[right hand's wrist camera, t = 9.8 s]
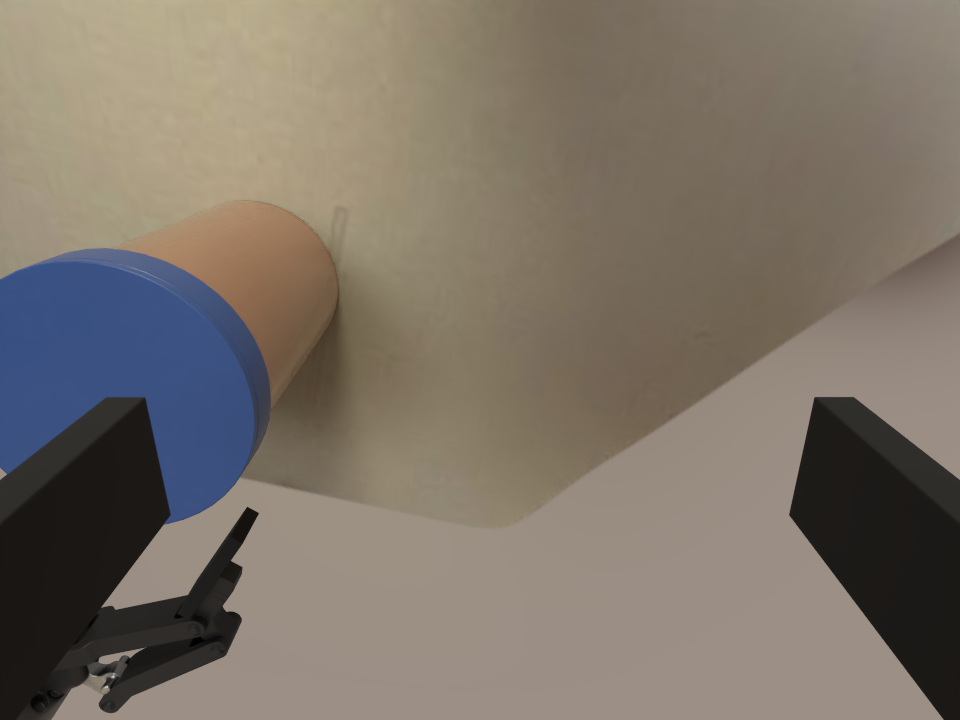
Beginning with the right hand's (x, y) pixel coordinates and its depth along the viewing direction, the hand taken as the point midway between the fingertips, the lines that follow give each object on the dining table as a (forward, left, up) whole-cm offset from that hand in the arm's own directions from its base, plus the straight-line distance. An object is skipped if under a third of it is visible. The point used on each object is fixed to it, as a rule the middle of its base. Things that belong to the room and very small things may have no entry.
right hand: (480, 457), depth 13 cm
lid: (-7, -11, -9) cm, 16 cm away
